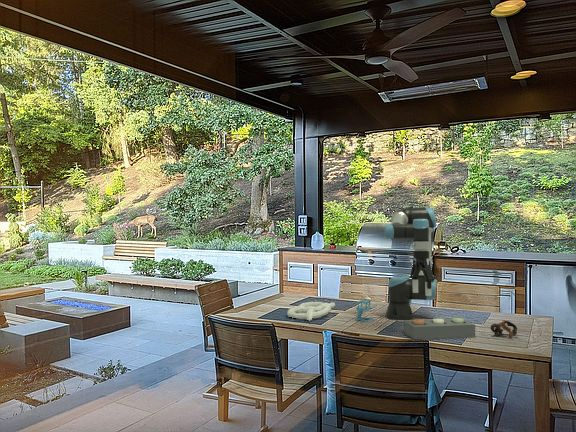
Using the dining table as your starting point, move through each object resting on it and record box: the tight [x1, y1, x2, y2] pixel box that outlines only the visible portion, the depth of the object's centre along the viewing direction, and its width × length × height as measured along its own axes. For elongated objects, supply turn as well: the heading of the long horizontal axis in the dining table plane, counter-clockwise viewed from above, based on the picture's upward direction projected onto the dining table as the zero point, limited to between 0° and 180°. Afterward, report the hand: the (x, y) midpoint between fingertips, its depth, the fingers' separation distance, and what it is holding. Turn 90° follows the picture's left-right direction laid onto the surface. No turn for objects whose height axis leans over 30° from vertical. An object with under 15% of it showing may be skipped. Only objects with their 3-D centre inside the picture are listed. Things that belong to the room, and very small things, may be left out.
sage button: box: [452, 317, 465, 323], centre depth 228 cm, size 5×5×3 cm
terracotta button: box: [412, 318, 425, 325], centre depth 226 cm, size 5×5×3 cm
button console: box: [403, 318, 476, 340], centre depth 227 cm, size 14×30×6 cm, turn 96°
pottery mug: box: [490, 320, 518, 339], centre depth 223 cm, size 12×10×8 cm
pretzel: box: [286, 301, 336, 322], centre depth 275 cm, size 28×24×6 cm
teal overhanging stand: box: [355, 298, 374, 323], centre depth 262 cm, size 8×8×12 cm
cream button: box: [432, 317, 445, 324], centre depth 227 cm, size 5×5×3 cm
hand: (421, 294), depth 227 cm, fingers open, 13 cm apart
